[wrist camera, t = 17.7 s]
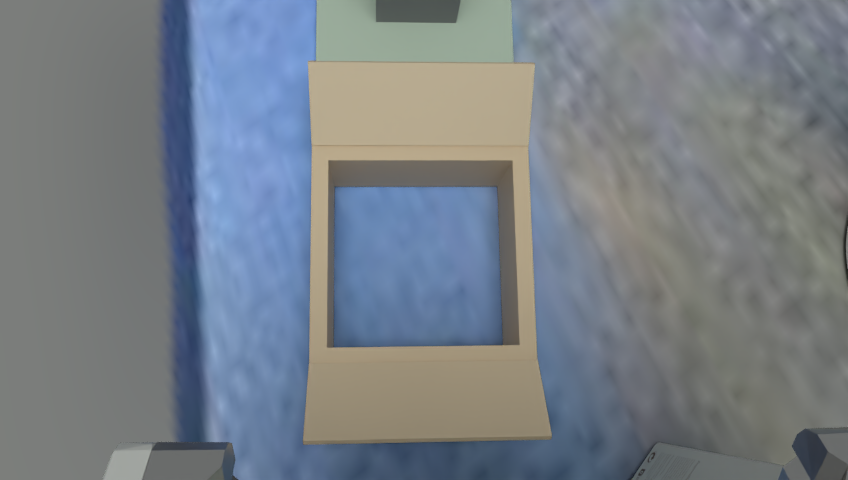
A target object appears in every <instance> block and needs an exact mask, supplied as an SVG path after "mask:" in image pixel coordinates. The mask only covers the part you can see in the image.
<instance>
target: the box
mask: <svg viewBox="0 0 848 480" xmlns="http://www.w3.org/2000/svg"><path fill="white" fill-rule="evenodd" d="M460 1H461V0H376V22H410V23H456V21H457V16H458V11H459V6H460Z"/></svg>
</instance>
